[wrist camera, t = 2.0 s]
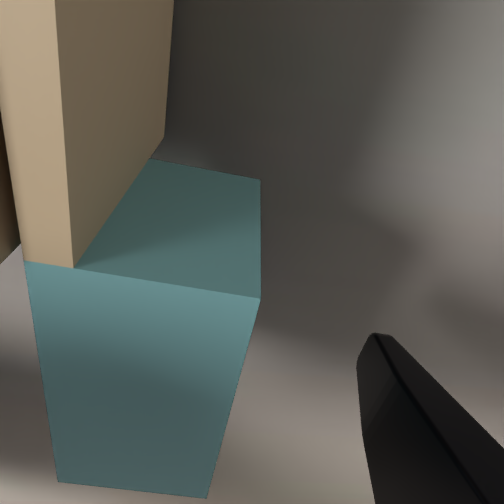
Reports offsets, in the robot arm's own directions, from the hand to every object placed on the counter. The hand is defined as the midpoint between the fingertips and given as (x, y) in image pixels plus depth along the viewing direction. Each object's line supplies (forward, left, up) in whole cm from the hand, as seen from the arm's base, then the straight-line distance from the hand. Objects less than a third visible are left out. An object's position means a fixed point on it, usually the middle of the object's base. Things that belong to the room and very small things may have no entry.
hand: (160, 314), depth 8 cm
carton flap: (+6, 0, -3) cm, 7 cm away
